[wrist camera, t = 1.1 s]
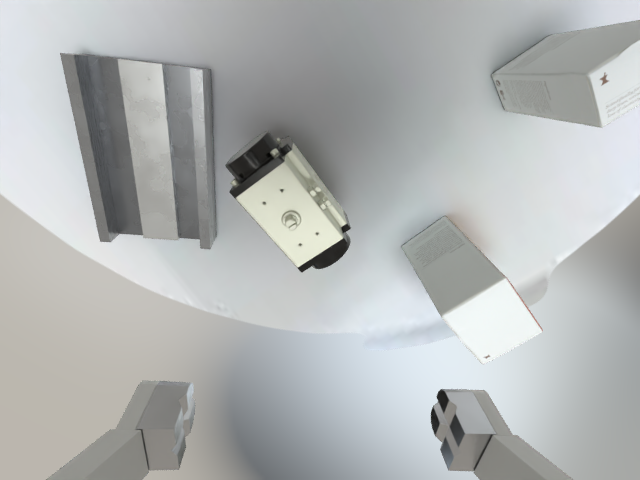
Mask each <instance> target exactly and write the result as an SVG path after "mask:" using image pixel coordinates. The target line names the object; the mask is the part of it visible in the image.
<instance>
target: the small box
mask: <svg viewBox="0 0 640 480" xmlns="http://www.w3.org/2000/svg"><path fill="white" fill-rule="evenodd" d="M402 249H403V251H404V252H405V254H406V256H407V258H408V259H409V261H410V263H411V264H412V266H413V268H414V270H415V272H416V273H417V275H418V277H419V279H420V280H421V282H422V284H423V286H424V287H425V289H426V291H427V293H428V294H429V296H430V298H431V300H432V302H433V303H434V305H435V307H436V309H437V310H438V312H439V314H440V315H441V317H442V318H443V320H444V321H445V322H446V323H447V325H448V326H449V327H450V328H451V329H452V331H453V332H454V333H455V334H456V336H457V337H458V338H459V339H460V340H461V342H462V343H463V344H464V345H465V346H466V348H467V349H469V350H470V351H471V352H472V354H473V355H474V356H475V357H476V358H477V359H478V360H479V361H480V362H481V364H485V363H487V362H489V361H491V360H493V359H495V358H497V357H499V356H501V355H503V354H505V353H506V352H508V351H510V350H512V349H513V348H515V347H517V346H519V345H521V344H522V343H524V342H526V341H528V340H529V339H531V338H533V337H535V336H536V335H538V334H540V333H541V332H543V330H542V328H541V327H540V325H539V324H538V323H537V321H536V319H535V318H534V316H533V315H532V313H531V312H530V310H529V309H528V307H527V306H526V305H525V303H524V302H523V300H522V299H521V297H520V296H519V294H518V293H517V292H516V290H515V289H514V287H513V286H512V284H511V283H510V281H509V280H508V279H507V277H505V276H504V275H503V274H502V273H501V272H500V271H499V270H498V269H497V268H496V267H495V266H494V265H493V264H492V263H491V262H490V261H489V260H488V259H487V257H486V256H485V255H484V254H483V253H482V252H481V251H480V250H479V249H478V248H477V247H476V246H475V245H474V244H473V243H472V242H471V241H470V240H469V239H468V238H467V237H466V236H465V235H464V234H463V233H462V232H461V231H460V230H459V229H458V228H457V227H456V226H455V225H454V224H453V223H452V222H451V220H450V219H449V218H448V217H447V216H443V217H442V218H441V219H439V220H438V221H437V222H435V223H434V224H432V225H431V226H429V227H428V228H427V229H425V230H424V231H422V232H421V233H419V234H418V235H416V236H415V237H414V238H412V239H411V240H409V241H408V242H407V243H405V244H404V245H403V246H402Z"/></svg>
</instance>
